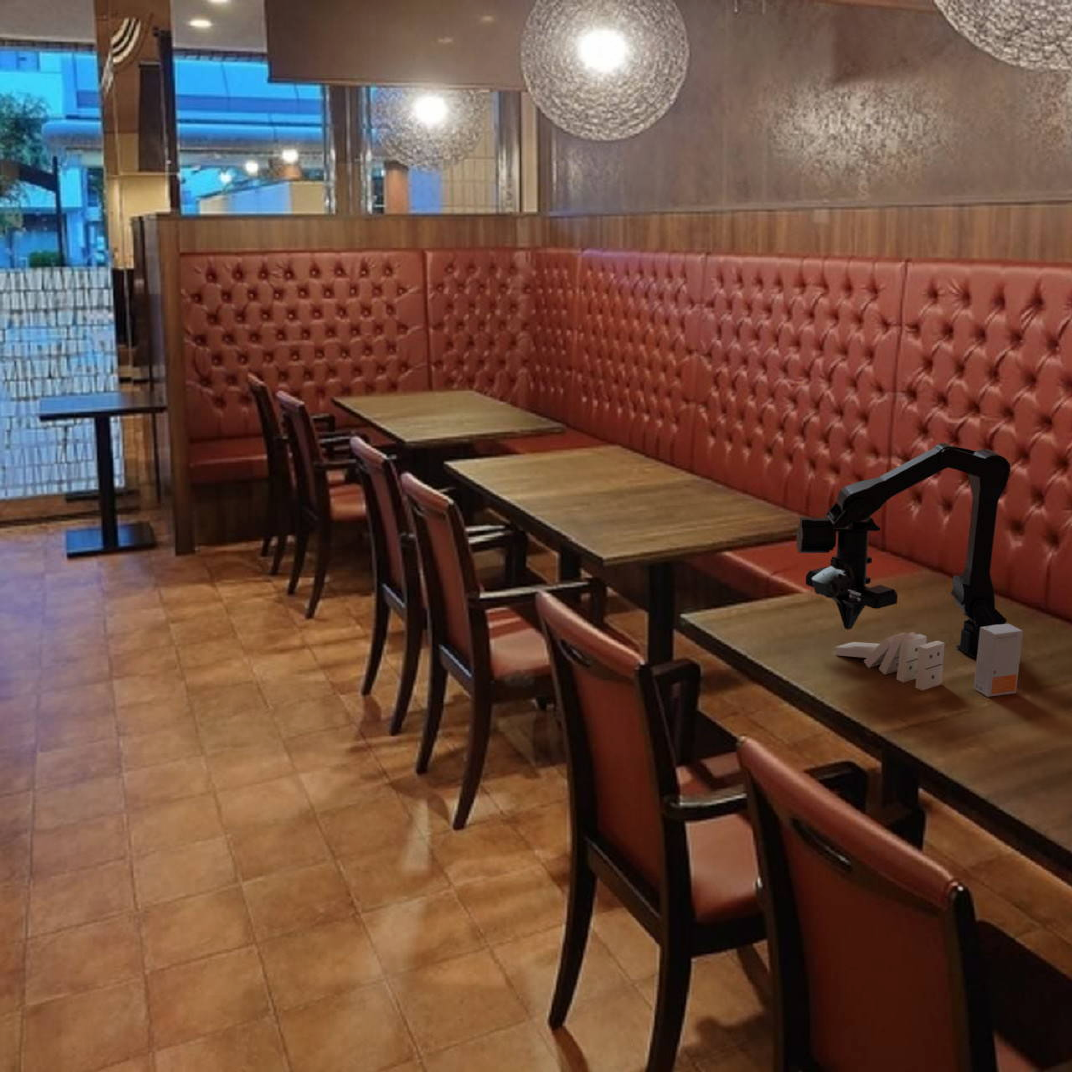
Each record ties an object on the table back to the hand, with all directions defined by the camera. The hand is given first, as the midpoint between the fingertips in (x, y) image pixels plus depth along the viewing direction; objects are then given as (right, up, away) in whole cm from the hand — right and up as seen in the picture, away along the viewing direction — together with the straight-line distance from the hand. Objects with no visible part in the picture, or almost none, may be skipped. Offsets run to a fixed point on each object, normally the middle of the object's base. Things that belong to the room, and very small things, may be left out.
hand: (848, 628), depth 220 cm
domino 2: (+4, -6, -5) cm, 8 cm away
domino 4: (+8, -8, -11) cm, 16 cm away
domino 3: (+6, -7, -8) cm, 12 cm away
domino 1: (0, -4, +2) cm, 4 cm away
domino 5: (+10, -9, -15) cm, 20 cm away
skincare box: (+21, -10, -18) cm, 30 cm away
